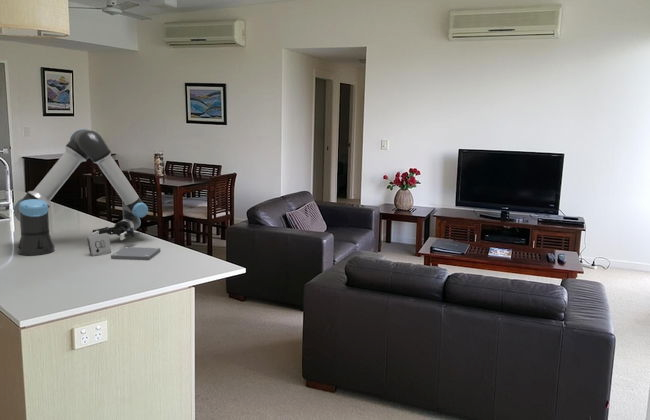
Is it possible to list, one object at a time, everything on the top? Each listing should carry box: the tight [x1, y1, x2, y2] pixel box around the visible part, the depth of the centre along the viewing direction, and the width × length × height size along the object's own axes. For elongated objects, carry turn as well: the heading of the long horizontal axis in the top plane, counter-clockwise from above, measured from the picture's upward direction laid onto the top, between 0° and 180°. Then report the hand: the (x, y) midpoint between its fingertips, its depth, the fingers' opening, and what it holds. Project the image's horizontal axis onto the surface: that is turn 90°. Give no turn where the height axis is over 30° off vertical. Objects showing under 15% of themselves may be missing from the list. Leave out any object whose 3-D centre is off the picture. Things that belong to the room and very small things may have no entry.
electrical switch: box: [86, 233, 112, 257], centre depth 255 cm, size 9×5×9 cm, turn 141°
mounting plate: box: [110, 246, 161, 261], centre depth 255 cm, size 17×16×2 cm
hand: (106, 236), depth 263 cm, fingers open, 13 cm apart
